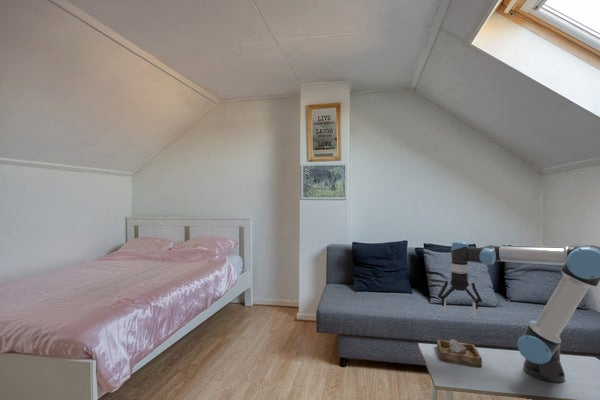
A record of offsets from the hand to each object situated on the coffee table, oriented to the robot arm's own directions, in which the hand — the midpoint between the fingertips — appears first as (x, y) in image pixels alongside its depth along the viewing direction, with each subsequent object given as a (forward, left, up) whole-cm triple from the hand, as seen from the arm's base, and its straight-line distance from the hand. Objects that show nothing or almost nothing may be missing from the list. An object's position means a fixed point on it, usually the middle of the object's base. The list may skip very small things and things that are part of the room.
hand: (459, 313), depth 161 cm
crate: (0, 0, -22) cm, 22 cm away
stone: (+1, -1, -21) cm, 21 cm away
